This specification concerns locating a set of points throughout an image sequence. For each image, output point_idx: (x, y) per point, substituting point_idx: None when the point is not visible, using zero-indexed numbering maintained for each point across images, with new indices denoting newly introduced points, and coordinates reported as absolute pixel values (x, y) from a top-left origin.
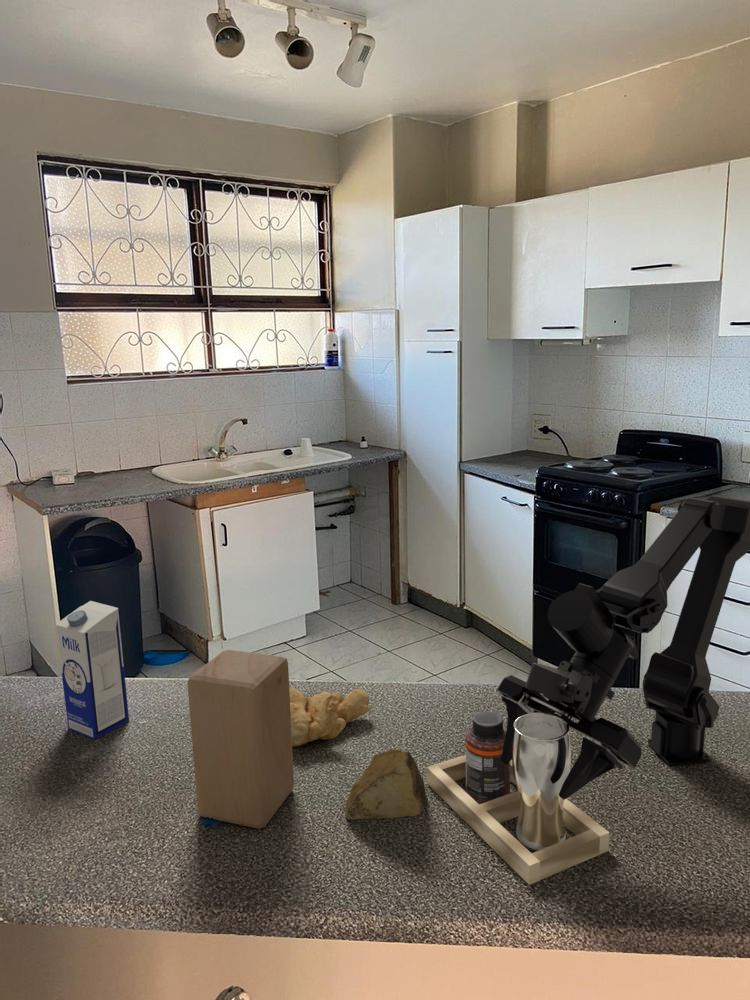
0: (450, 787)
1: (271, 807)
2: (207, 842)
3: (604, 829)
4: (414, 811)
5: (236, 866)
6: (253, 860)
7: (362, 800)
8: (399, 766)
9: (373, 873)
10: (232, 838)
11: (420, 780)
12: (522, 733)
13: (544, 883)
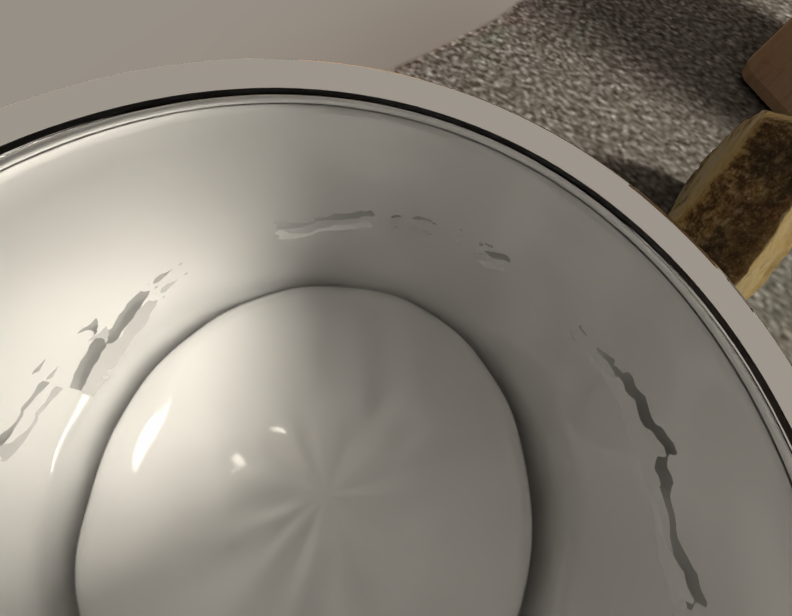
0: None
1: (784, 71)
2: (747, 17)
3: None
4: None
5: (670, 7)
6: (669, 27)
7: (709, 157)
8: (762, 110)
9: (518, 109)
10: (739, 41)
11: None
12: (613, 561)
13: None
